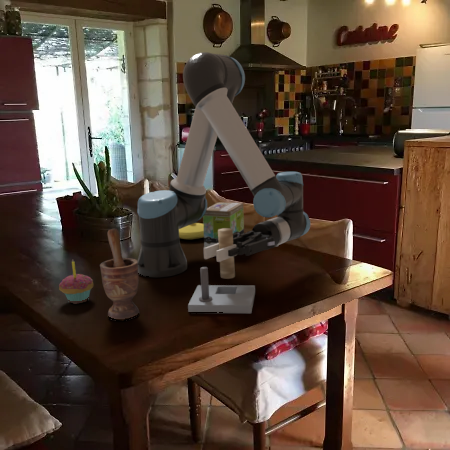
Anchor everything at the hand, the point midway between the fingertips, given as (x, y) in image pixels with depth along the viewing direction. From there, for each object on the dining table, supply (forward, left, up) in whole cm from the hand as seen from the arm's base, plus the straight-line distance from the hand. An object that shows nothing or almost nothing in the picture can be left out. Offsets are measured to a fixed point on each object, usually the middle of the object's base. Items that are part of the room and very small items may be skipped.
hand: (211, 254), depth 116 cm
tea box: (-4, +51, -13) cm, 52 cm away
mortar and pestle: (-22, -5, -13) cm, 26 cm away
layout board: (+2, +2, -13) cm, 13 cm away
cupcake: (-36, +2, -13) cm, 38 cm away
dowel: (+3, +4, -7) cm, 9 cm away
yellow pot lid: (-18, +65, -13) cm, 68 cm away
